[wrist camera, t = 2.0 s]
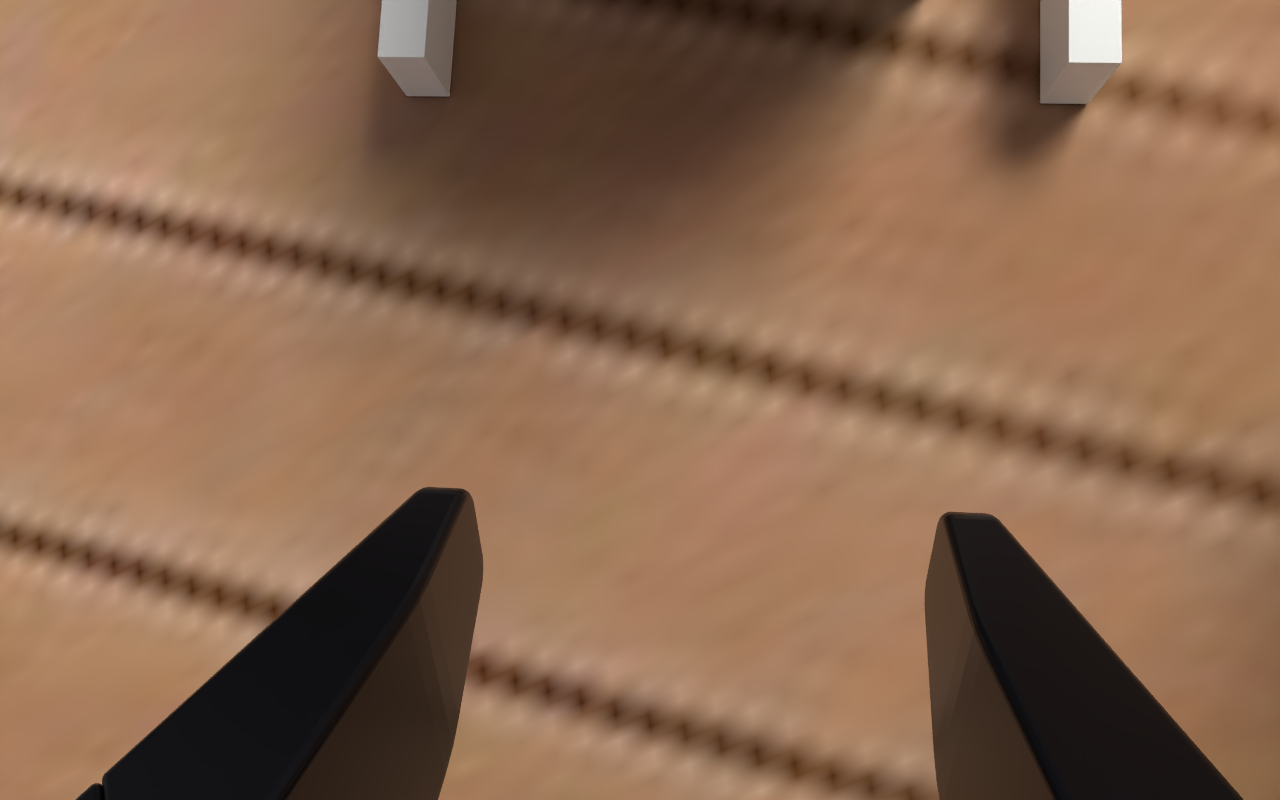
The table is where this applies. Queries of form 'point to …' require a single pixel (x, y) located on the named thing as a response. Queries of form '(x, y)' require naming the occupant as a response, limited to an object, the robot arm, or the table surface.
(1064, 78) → the low angular wall frame
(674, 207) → the table surface
